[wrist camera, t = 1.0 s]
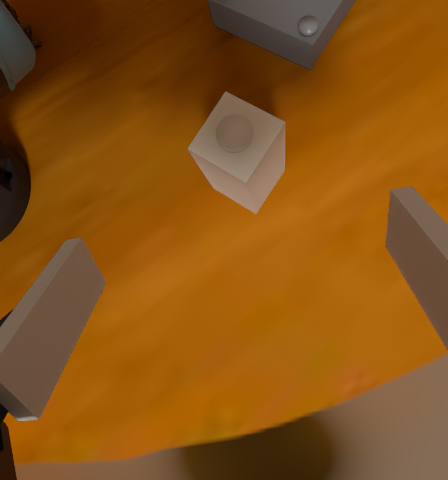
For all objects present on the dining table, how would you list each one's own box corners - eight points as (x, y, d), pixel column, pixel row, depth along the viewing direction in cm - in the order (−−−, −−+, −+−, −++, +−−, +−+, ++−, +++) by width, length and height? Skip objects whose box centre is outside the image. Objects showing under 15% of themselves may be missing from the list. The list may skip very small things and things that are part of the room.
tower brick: (213, 188, 39) (184, 144, 27) (240, 146, 39) (223, 85, 28) (256, 214, 38) (244, 179, 26) (284, 170, 38) (285, 117, 26)
